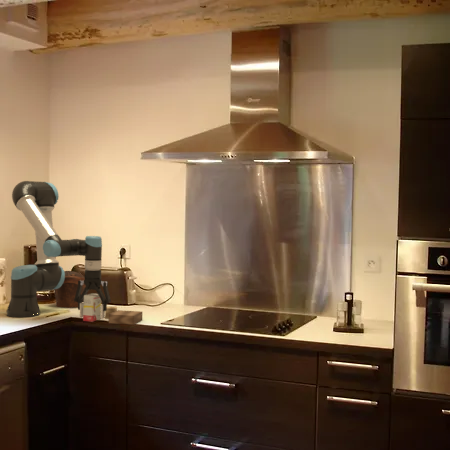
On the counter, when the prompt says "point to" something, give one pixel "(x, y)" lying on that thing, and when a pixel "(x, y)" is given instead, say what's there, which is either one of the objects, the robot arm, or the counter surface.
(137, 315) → the pedestal
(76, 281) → the brown plant pot
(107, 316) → the oak cube
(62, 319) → the counter surface
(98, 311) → the ink box
